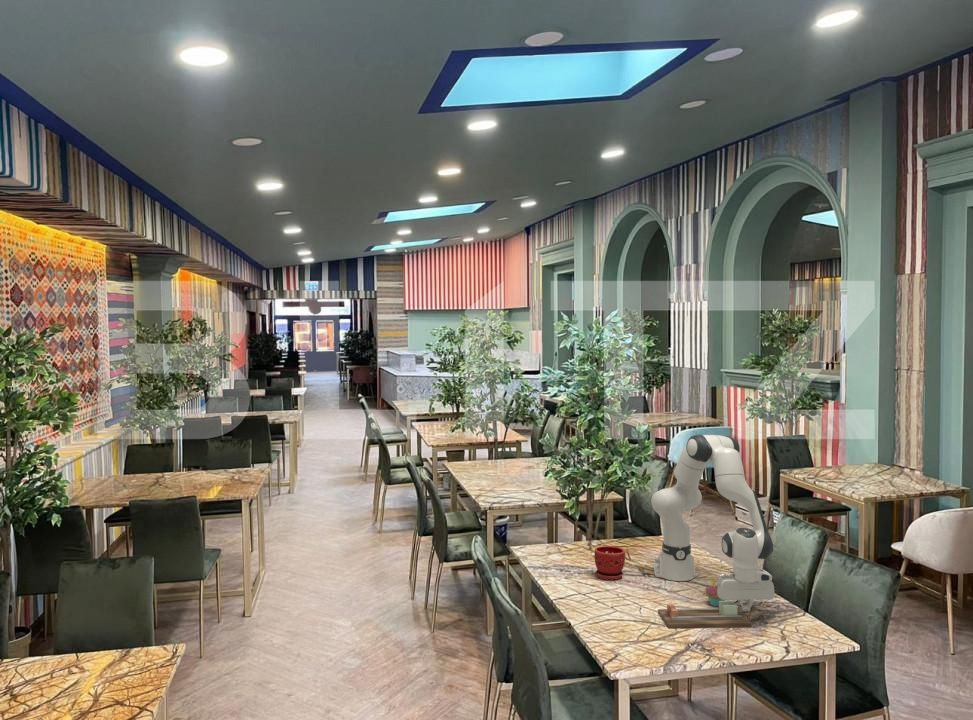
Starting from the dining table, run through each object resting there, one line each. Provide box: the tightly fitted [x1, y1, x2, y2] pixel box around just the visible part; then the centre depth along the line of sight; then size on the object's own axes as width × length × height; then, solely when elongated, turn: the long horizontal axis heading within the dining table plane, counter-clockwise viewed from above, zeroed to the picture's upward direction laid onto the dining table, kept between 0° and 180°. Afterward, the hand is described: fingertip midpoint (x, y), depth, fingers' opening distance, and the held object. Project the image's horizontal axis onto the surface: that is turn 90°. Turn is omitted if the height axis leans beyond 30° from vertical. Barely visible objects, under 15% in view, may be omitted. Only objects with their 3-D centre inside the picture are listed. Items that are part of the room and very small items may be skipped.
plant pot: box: [593, 545, 626, 581], centre depth 310 cm, size 13×13×12 cm
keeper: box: [718, 600, 738, 616], centre depth 262 cm, size 5×5×4 cm
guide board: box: [657, 602, 753, 629], centre depth 262 cm, size 14×30×5 cm, turn 91°
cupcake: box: [704, 574, 726, 608], centre depth 277 cm, size 9×8×12 cm
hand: (745, 610), depth 262 cm, fingers closed
